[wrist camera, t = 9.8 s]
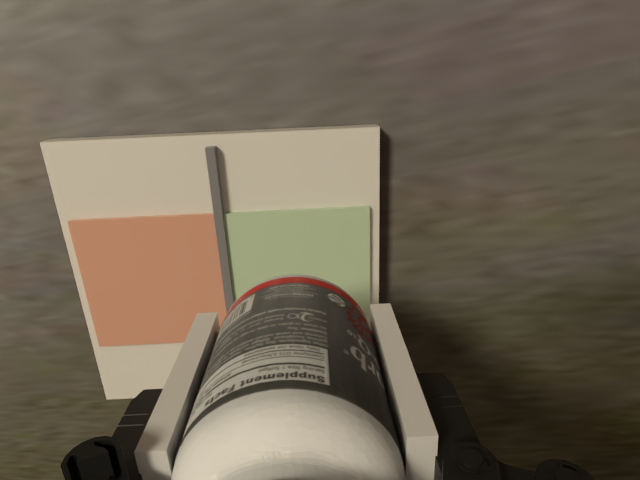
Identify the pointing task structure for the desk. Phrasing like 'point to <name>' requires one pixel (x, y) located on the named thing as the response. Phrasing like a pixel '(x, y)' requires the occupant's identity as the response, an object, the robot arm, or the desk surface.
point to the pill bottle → (292, 392)
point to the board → (208, 230)
